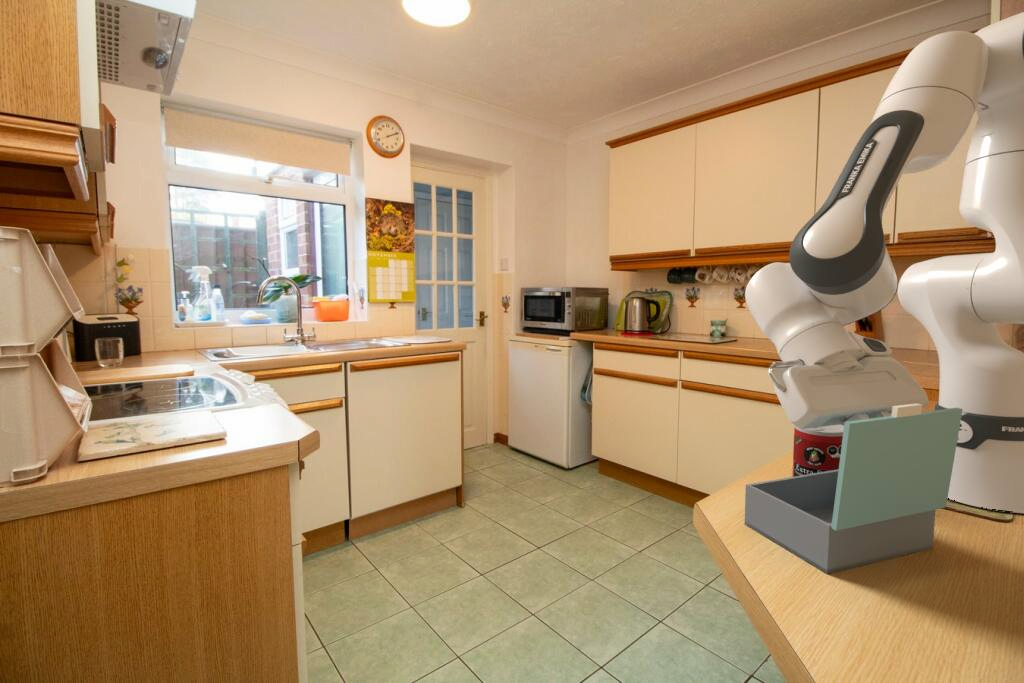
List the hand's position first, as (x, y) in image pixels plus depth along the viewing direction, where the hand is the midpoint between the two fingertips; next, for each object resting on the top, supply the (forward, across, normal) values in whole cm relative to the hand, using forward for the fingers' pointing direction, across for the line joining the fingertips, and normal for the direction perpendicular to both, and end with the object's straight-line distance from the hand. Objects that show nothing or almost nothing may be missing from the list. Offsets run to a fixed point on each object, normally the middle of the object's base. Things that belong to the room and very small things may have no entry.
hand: (891, 450), depth 57 cm
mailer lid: (+1, 0, +1) cm, 1 cm away
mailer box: (+5, 0, +15) cm, 16 cm away
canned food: (-3, +12, +24) cm, 27 cm away
